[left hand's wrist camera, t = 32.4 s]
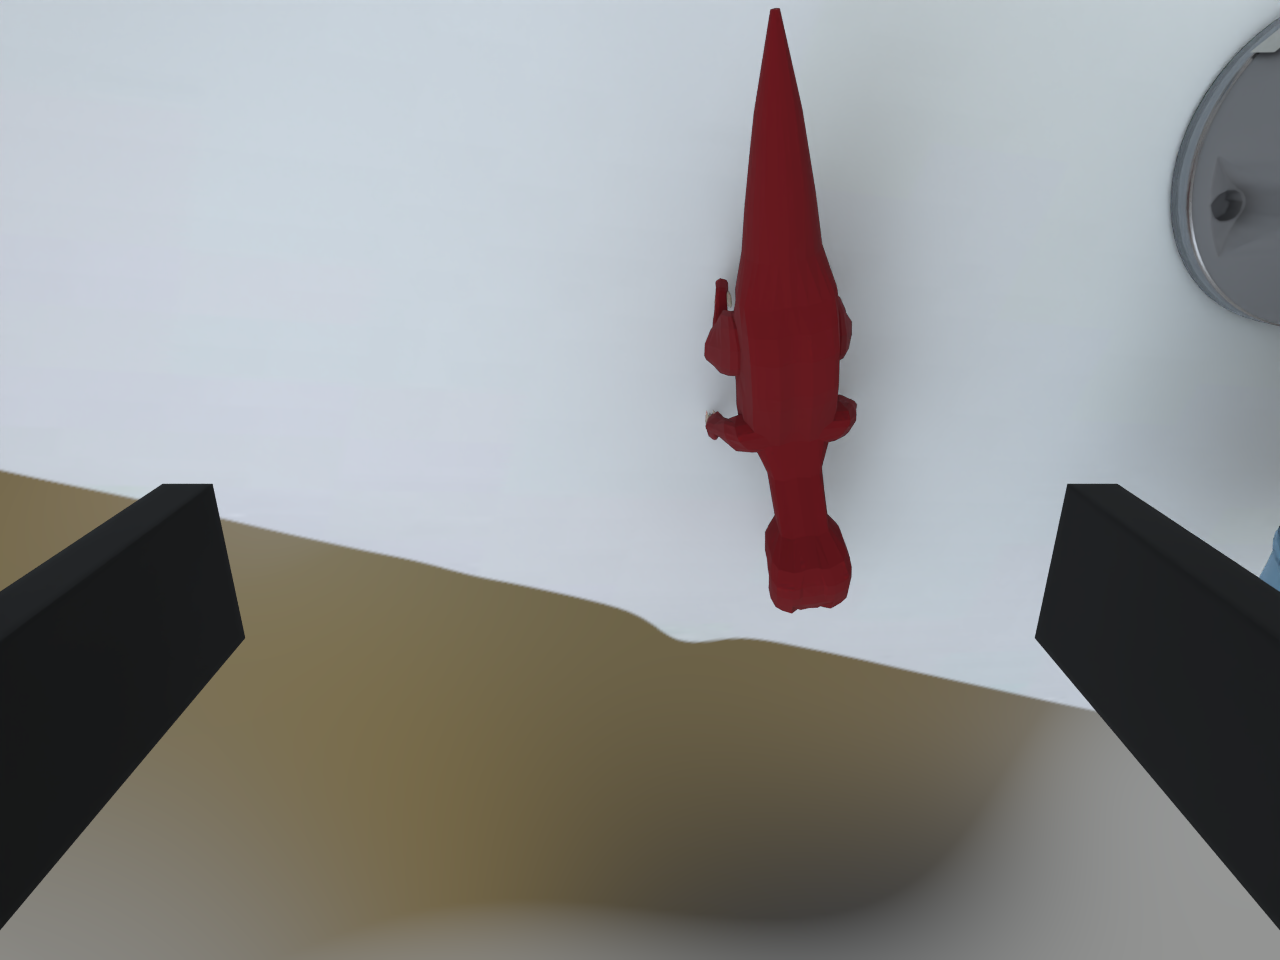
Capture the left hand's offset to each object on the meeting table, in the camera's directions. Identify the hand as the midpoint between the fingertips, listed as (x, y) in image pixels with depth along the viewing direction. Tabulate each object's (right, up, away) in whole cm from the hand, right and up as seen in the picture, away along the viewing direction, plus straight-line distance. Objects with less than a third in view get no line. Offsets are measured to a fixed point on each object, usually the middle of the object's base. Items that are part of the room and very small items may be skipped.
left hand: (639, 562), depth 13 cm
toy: (+6, +9, +29) cm, 31 cm away
